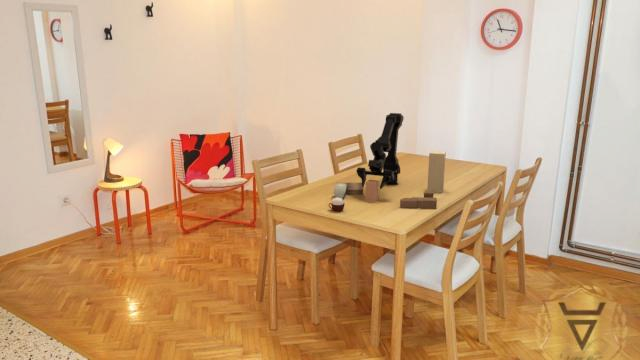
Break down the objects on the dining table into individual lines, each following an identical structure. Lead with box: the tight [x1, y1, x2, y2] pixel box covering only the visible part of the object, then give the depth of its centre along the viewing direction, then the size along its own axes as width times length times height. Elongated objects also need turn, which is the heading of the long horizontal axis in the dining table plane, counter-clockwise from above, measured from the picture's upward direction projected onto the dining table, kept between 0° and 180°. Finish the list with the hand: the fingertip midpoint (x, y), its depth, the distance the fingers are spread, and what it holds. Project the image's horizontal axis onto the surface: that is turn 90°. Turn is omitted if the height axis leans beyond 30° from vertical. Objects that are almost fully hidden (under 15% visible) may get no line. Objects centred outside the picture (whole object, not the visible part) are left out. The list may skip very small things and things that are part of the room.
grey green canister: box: [333, 182, 347, 200], centre depth 269 cm, size 6×6×7 cm
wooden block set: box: [399, 190, 438, 210], centre depth 258 cm, size 17×6×18 cm
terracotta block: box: [365, 179, 380, 203], centre depth 263 cm, size 5×5×10 cm
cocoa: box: [328, 186, 349, 213], centre depth 248 cm, size 10×6×12 cm, turn 59°
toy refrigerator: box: [426, 150, 447, 194], centre depth 277 cm, size 8×7×21 cm
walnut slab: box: [344, 182, 364, 196], centre depth 280 cm, size 14×14×3 cm
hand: (371, 188), depth 261 cm, fingers open, 9 cm apart
